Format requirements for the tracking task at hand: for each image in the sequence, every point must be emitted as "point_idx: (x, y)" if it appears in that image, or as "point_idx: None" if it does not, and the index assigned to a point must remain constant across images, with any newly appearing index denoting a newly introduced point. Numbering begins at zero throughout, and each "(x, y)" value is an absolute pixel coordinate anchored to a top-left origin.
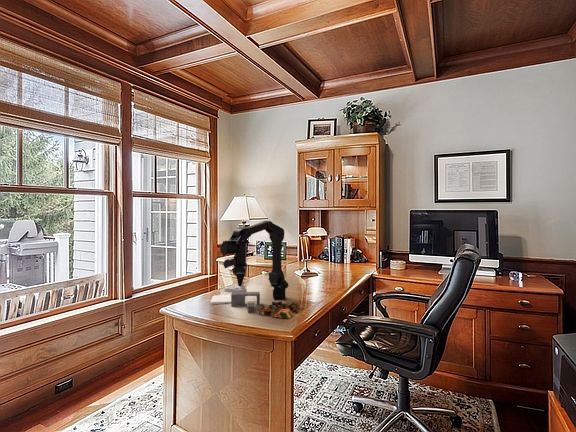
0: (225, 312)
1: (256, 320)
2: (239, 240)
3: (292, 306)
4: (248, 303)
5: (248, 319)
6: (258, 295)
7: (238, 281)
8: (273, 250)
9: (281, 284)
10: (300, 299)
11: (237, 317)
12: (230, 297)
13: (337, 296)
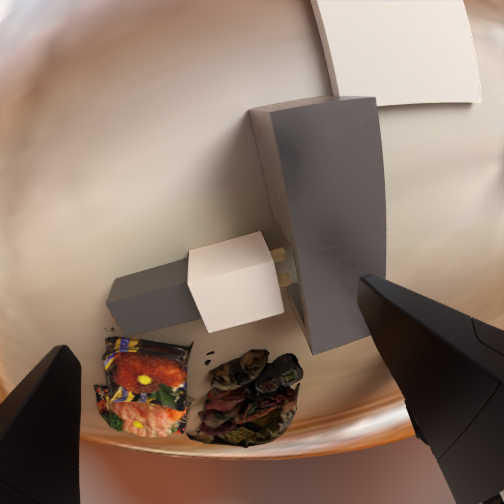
0: (79, 127)
1: (33, 338)
2: None
3: (233, 431)
4: (185, 285)
5: (25, 306)
6: (308, 340)
7: (17, 407)
8: None
9: (411, 420)
10: (380, 399)
11: (22, 246)
12: (439, 76)
13: (386, 442)
